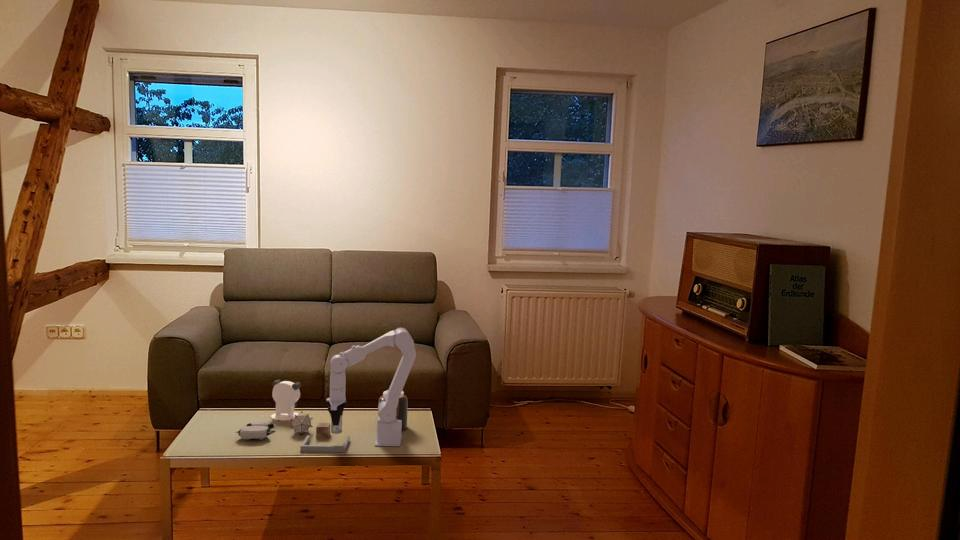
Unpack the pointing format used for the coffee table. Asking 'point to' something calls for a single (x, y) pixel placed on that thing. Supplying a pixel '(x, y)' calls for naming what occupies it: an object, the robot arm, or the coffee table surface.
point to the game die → (301, 422)
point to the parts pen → (323, 446)
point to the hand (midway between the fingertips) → (336, 423)
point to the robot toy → (255, 430)
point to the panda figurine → (285, 399)
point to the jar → (399, 409)
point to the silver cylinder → (337, 427)
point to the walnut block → (323, 430)
